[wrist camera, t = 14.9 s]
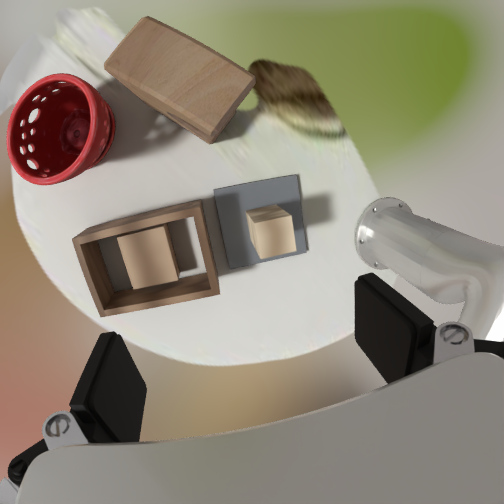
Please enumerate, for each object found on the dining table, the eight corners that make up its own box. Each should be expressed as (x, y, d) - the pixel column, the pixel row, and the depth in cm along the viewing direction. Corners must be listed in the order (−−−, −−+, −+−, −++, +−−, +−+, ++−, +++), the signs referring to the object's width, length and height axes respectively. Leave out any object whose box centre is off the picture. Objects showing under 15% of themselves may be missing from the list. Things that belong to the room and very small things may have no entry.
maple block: (276, 204, 42) (291, 215, 34) (280, 234, 43) (296, 251, 36) (245, 210, 41) (254, 223, 34) (251, 240, 43) (260, 259, 35)
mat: (295, 174, 41) (296, 174, 41) (305, 251, 45) (306, 252, 45) (213, 189, 40) (213, 190, 40) (229, 267, 44) (229, 269, 44)
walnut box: (200, 199, 40) (199, 206, 35) (218, 276, 44) (220, 294, 39) (87, 228, 39) (71, 239, 33) (111, 298, 43) (100, 317, 37)
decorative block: (235, 115, 37) (260, 78, 18) (210, 147, 38) (213, 137, 19) (172, 73, 34) (146, 10, 15) (147, 105, 35) (98, 65, 16)
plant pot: (63, 190, 36) (21, 204, 25) (41, 115, 32) (-3, 109, 21) (136, 155, 37) (110, 155, 26) (112, 76, 32) (82, 51, 21)
